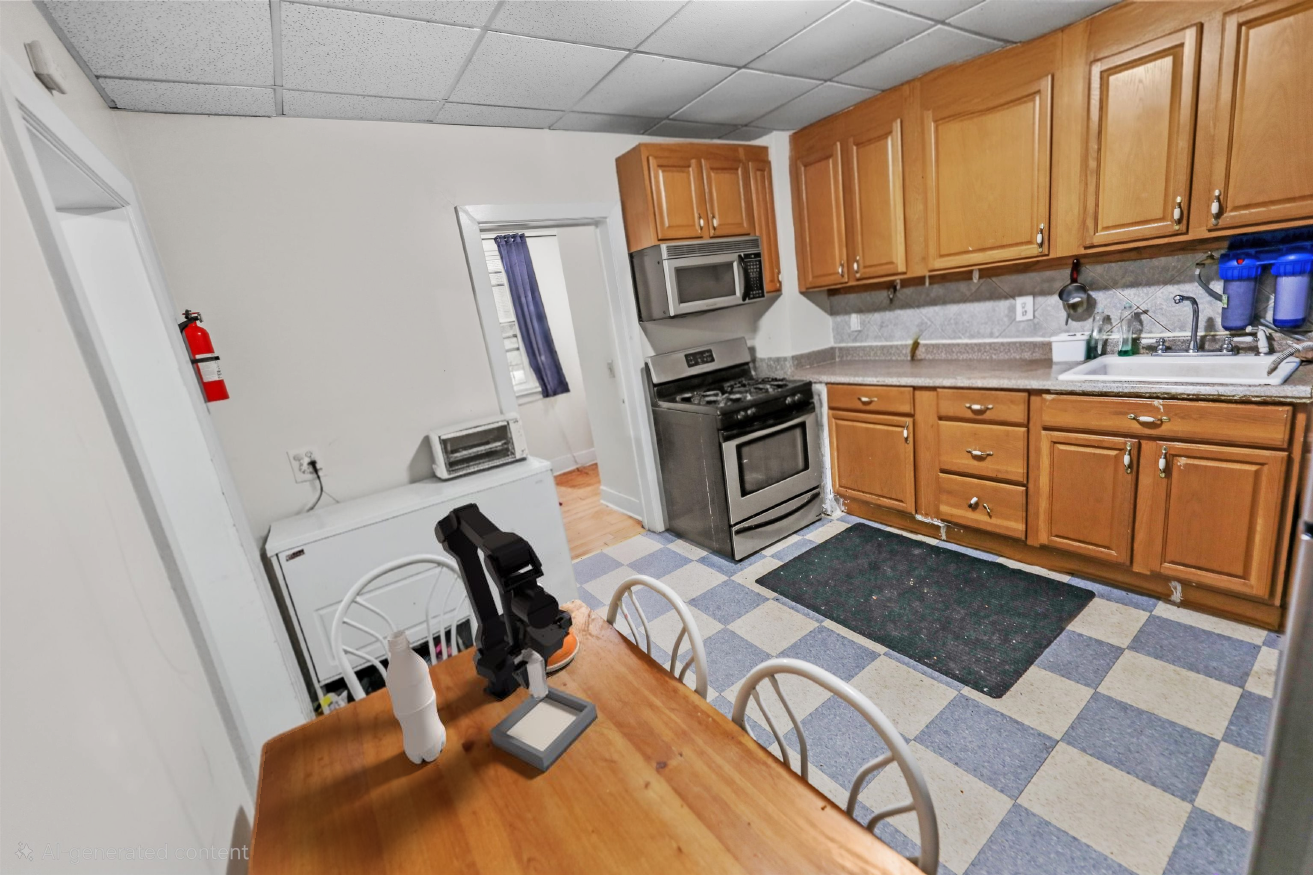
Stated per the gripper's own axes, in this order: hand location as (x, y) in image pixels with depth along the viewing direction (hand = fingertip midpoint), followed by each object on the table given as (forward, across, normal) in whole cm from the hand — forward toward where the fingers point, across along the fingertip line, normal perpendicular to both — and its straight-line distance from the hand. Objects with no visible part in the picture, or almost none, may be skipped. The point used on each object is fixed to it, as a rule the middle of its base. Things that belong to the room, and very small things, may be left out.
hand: (535, 681), depth 100 cm
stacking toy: (+11, +17, +16) cm, 26 cm away
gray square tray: (+11, 0, 0) cm, 11 cm away
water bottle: (+11, -14, +17) cm, 25 cm away
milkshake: (+3, 0, 0) cm, 3 cm away
